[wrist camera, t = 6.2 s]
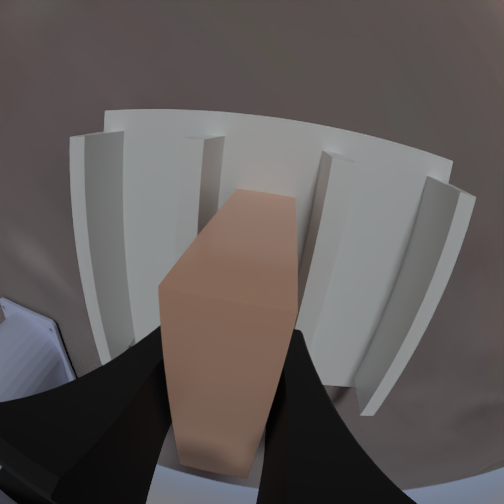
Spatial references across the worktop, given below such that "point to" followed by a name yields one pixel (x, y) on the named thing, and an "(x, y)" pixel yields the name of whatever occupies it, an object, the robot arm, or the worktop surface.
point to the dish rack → (308, 229)
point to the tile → (230, 329)
